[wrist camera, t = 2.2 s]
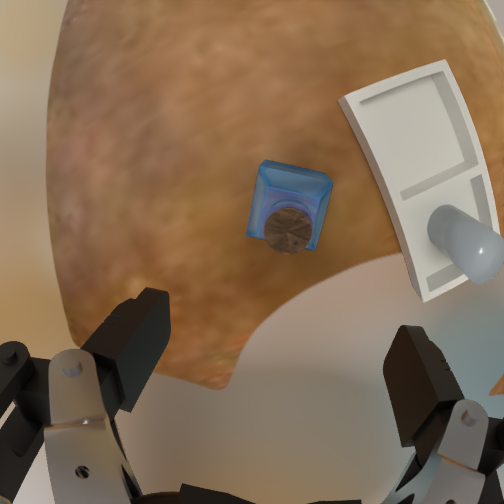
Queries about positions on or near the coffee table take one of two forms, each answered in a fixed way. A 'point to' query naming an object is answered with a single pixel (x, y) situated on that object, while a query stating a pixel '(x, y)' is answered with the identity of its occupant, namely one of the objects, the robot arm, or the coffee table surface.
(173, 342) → the coffee table surface
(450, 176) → the tray
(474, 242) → the grey rounded cylinder
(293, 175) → the perfume bottle
